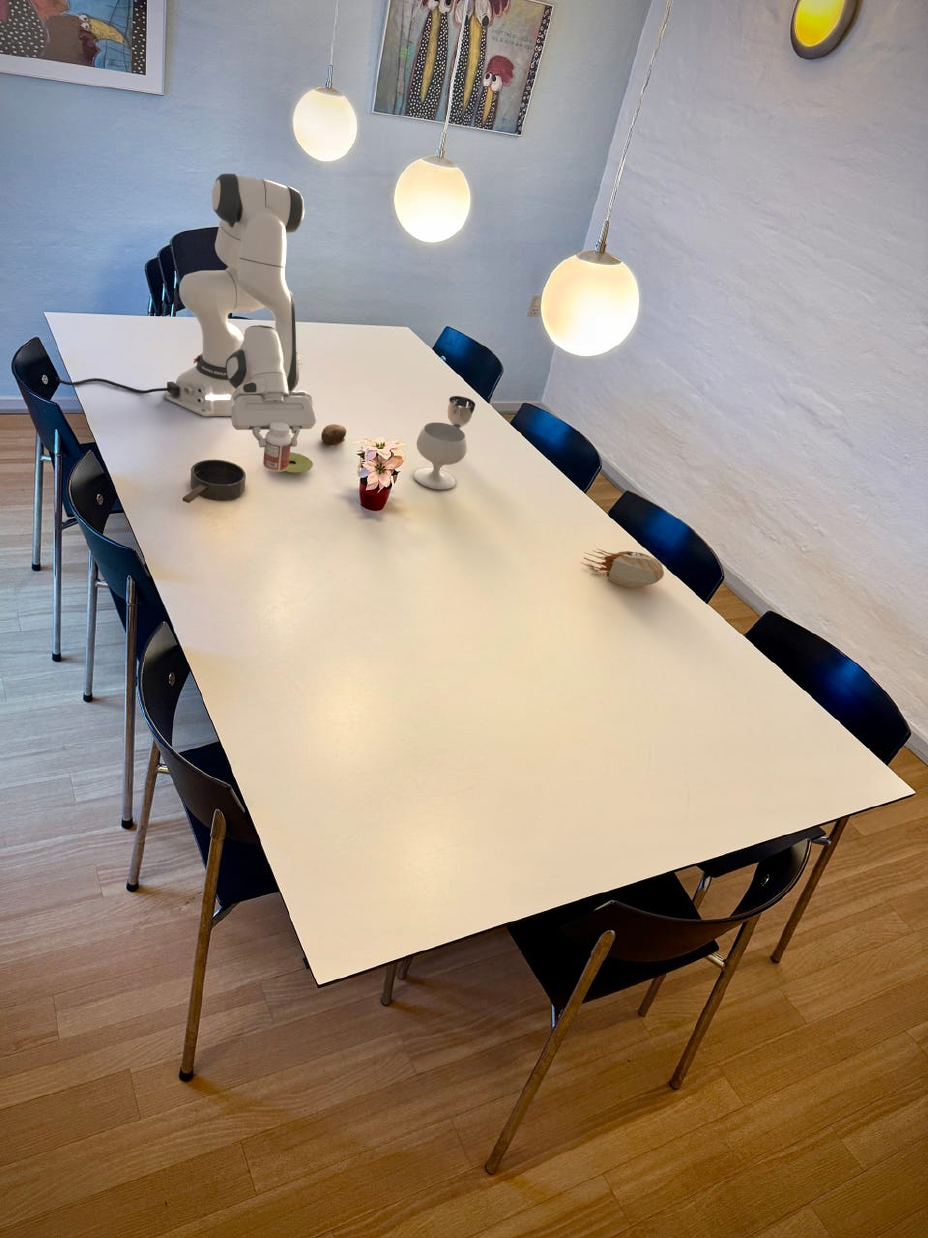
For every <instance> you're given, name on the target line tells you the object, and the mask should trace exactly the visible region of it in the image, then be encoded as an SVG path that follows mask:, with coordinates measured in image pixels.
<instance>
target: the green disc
mask: <svg viewBox="0 0 928 1238" xmlns="http://www.w3.org/2000/svg"><path fill="white" fill-rule="evenodd" d="M313 463H314V462H313V461H312V459H310V458H309V457H308V456H305V455H303V454H300V453H297V452H291V451H290V458H289V466H288V469H287V470H285V471H284V472H288V473H304V472H307V471H309V470H311V469H312V468H313V466H314V464H313Z"/></svg>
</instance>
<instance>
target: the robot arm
mask: <svg viewBox="0 0 928 1238" xmlns="http://www.w3.org/2000/svg"><path fill="white" fill-rule="evenodd" d="M211 202H212V208H213V211H214V213H215V214H216V215H217V217H218V218H219V219H220V221H219V225H218V229H217V234H216V238H215V242H214V249H215V253H216V255H217V257H218V258H219V260H220V261H221V262H222V263H223V264H225V265H226V266H227V268H226V269H222V270H198V271H195V272H190V273H188V274H187V273H186V274H185V275H184V276H183V277H182V279H181V280H180V283H179V288H178V292H179V293H178V295H179V298H180V302H181V303H182V304H183V306H184V307H185V308H186V309H187V310H188V311H189V312H190V313H192V315H193V316H195V318H196V319H197V321H198V323H199V325H200V329H201V333H202V334H201V335H202V352H201V353H200V354H199V355H197V356H196V357H195V358H194V359H193V364H196V365H195V366H194V367H191V368H189V369H188V370H186V371H184V372H182V373H180V374H179V376H178V377H177V379H175V382H174V381H167V382H166V387H159V388H158V387H157V388H150V389H145V390H143V389H137V388H133V387H130V386H128V385H125V384H121V383H117V382H114V381H112V380H109V379H105V378H97V377H94V378H87V379H82V380H79V381H66V380H63V379H60V378H58V377H56V378H57V379H56V380H57V381H56V380H55V381H56V382H57V383H59V384H62V385H66V386H79V385H83V384H87V383H91V382H101V383H106V384H109V385H112V386H115V387H116V388H117V387H118V388H120V389H124V390H127V391H130V392H134V393H137V394H149V393H150V394H151V393H156V392H166V394H165V399H166V400H167V401H169V402H172V403H175V404H176V405H178V406H181V407H182V408H185V409H187V410H189V411H191V412H193V413H196V414H198V415H200V416H202V417H216V416H217V417H231V426H232V427H233V428H234V429H235V430H236V431H252V435H253V436H254V438H256V440H257V441H258V447H259V448H265V447H266V446H267V442H266V441H267V440H266V438H265V437H264V438H263V436H262V434H261V433H260V432H261V431H262V430H266V431H267V430H270V424H271V423H273V422H283V423H286V424H287V425H289V427H290V429H289V430H290V431H291V434H293V436H292V437H291V448H293V447H294V448H295V447H297V446H298V439H297V438H298V436H299V435H300V431H301V430H310V429H312V428H313V427H314V426H315V425H316V423H317V419H316V418H317V417H316V414H315V410H314V401H313V397H312V395H311V394H310V393H308V392H307V391H305V390H299V391H297V390H295V389H296V387H297V386H298V384H299V381H300V372H299V364H298V363H297V362H298V361H297V357H298V356H296V352H297V324H296V323H297V322H296V321H297V319H296V303H295V298H294V294H293V293H292V291H291V290H289V288H288V285H287V282H286V275H285V273H286V271H285V270H286V268H285V267H286V260H287V234H290V233H295V232H296V231H298V230H299V229H300V228H301V225H302V223H303V220H304V217H305V201H304V198H303V196H302V194H301V192H300V191H298V190H297V189H295V188H293V187H291V186H288V185H286V186H285V185H283V184H281V183H277V182H274V181H271V180H267V179H263V178H256V177H250V176H243V175H236V174H235V173H221V174H220V175H219V176H218V177H216V179H215V182H214V185H213V186H212V190H211ZM264 308H266V309H267V310H268V311H269V312H270V313H271V314H272V316H273V319H274V324H275V328H274V327H272V326H269V325H261V324H257V325H250V326H248V327H247V328H245V329H244V334H243V333H242V331H241V330H240V329H239V327H237V326H235V325H233V324H232V323H230V322H229V320H228V319H229V317H228V316H229V314H231V313H232V314H234V313H252V312H255V311H259V310H263V309H264ZM58 379H59V381H58ZM72 382H73V383H72Z"/></svg>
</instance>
